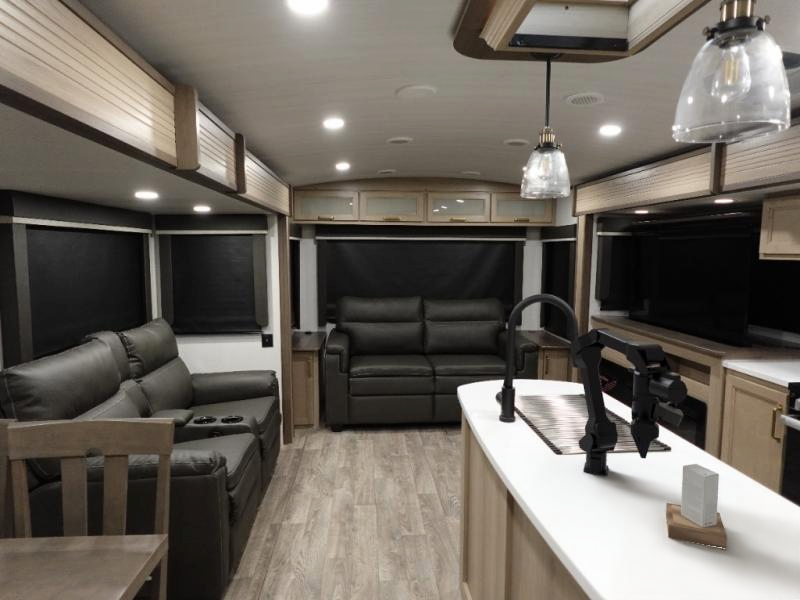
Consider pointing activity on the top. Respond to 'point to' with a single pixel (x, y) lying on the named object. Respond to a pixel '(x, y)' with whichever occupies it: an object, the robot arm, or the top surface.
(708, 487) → the skincare box
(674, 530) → the walnut tray
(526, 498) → the top surface
